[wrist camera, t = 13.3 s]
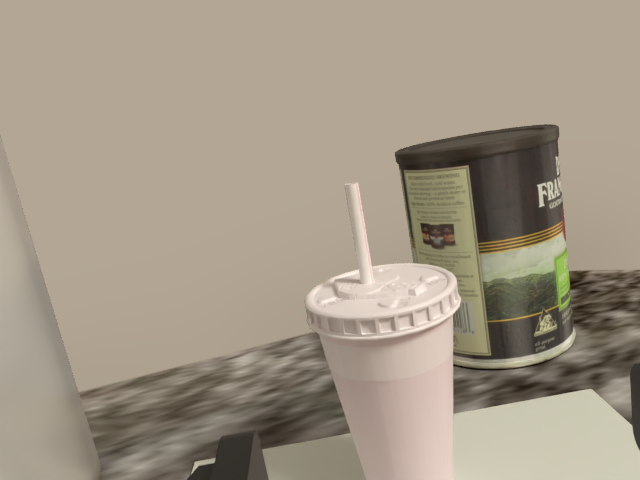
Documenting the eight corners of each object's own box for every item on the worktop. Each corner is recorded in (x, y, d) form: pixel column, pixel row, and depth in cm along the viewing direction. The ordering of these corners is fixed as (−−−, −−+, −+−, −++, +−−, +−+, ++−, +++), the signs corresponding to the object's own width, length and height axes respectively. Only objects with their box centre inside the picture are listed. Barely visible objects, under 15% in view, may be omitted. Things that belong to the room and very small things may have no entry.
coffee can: (574, 307, 40) (559, 118, 37) (577, 374, 31) (557, 132, 28) (439, 309, 45) (415, 141, 42) (406, 368, 36) (374, 159, 33)
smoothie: (391, 431, 28) (348, 173, 25) (508, 467, 24) (473, 161, 21) (313, 507, 24) (249, 203, 21) (440, 568, 20) (383, 197, 17)
